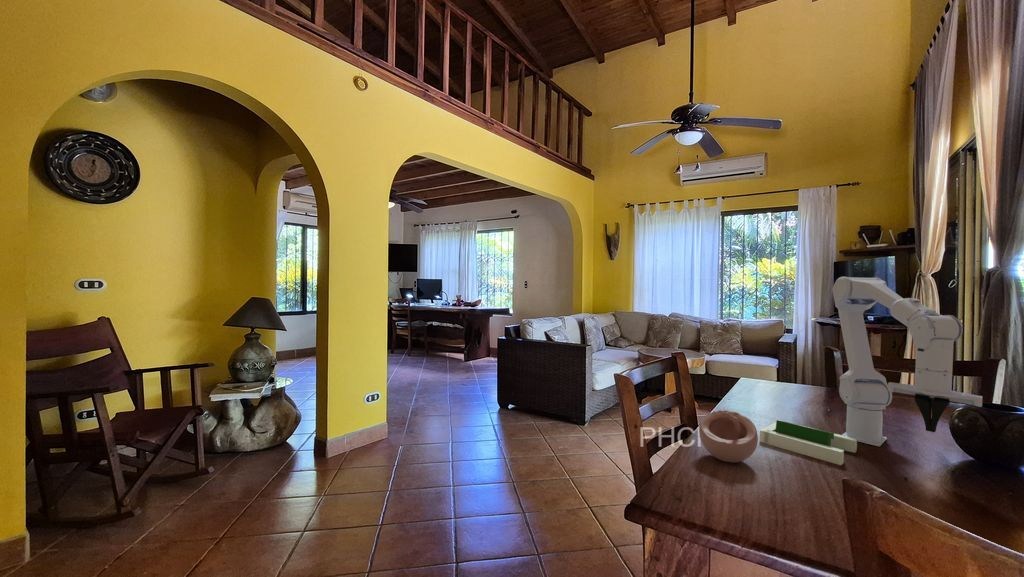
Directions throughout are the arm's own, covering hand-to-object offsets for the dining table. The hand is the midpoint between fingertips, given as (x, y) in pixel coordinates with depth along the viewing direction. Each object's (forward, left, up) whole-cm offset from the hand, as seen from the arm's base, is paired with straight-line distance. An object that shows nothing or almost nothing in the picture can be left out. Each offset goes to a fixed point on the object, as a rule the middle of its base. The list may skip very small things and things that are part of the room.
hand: (930, 430), depth 91 cm
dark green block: (+6, -22, -10) cm, 25 cm away
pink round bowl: (+31, -30, -10) cm, 44 cm away
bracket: (+5, -21, -9) cm, 24 cm away
